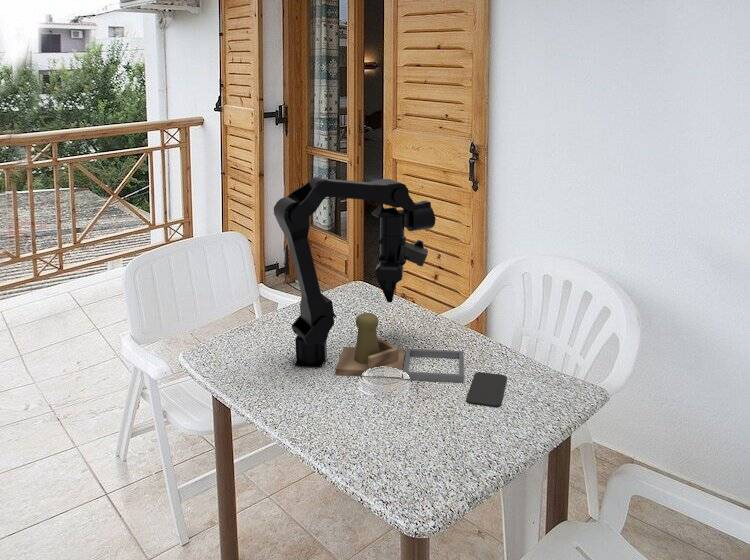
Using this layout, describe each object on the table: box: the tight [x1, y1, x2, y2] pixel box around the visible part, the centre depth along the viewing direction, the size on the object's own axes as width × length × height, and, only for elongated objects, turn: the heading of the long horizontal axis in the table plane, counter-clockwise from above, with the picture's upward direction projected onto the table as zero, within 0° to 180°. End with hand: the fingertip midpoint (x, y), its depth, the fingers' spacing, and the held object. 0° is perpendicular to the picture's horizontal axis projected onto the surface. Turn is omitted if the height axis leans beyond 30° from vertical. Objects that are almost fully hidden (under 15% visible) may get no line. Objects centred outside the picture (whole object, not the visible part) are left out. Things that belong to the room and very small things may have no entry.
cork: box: [354, 312, 379, 364], centre depth 166 cm, size 6×6×11 cm
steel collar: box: [403, 348, 465, 383], centre depth 166 cm, size 14×14×2 cm
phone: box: [465, 371, 508, 408], centre depth 156 cm, size 7×1×15 cm
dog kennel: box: [335, 336, 407, 377], centre depth 167 cm, size 15×12×4 cm
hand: (391, 295), depth 175 cm, fingers open, 9 cm apart
